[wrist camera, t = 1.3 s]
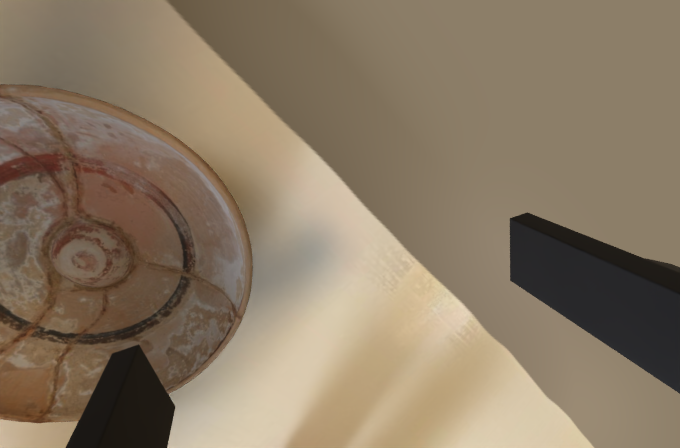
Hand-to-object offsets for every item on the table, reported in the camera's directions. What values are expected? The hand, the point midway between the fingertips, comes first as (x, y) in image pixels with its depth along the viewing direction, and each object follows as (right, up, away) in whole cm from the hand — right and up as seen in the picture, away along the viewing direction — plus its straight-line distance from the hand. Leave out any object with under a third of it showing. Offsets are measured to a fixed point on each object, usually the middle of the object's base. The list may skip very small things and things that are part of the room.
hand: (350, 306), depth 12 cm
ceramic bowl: (-19, +1, +14) cm, 24 cm away
